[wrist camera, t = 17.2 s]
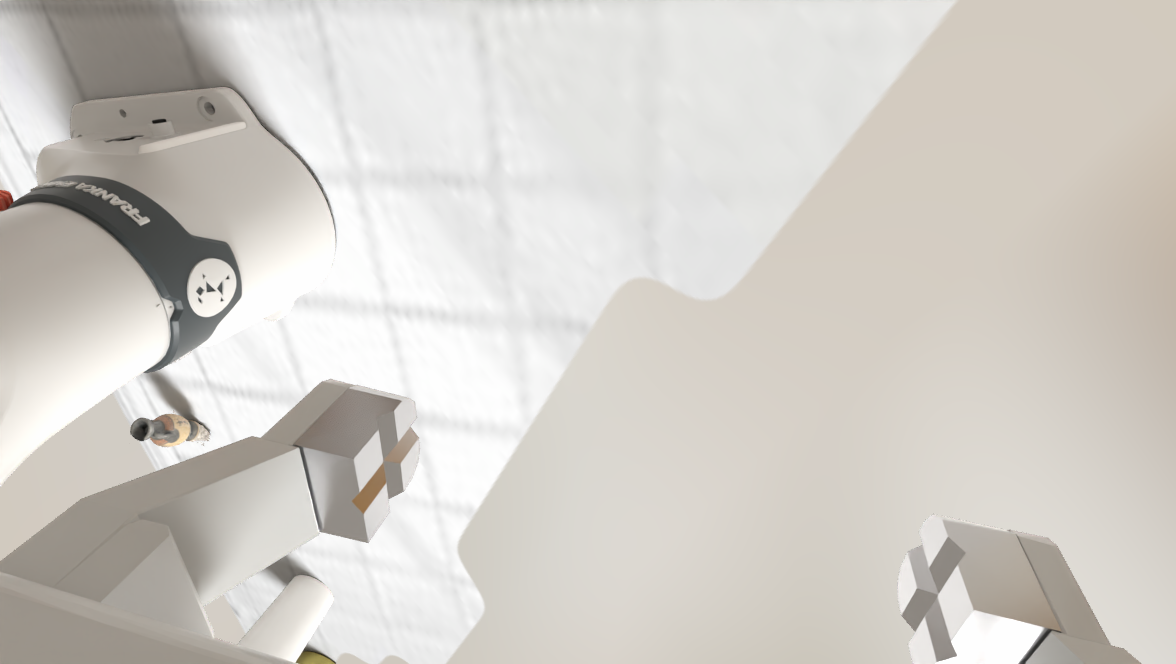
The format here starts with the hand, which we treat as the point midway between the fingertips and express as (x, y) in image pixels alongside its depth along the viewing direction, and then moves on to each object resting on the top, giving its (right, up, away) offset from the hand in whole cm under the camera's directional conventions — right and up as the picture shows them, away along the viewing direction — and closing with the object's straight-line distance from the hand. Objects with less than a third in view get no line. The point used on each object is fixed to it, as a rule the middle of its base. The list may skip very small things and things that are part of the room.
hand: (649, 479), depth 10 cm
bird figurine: (-42, -6, +53) cm, 68 cm away
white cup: (-35, -30, +65) cm, 80 cm away
